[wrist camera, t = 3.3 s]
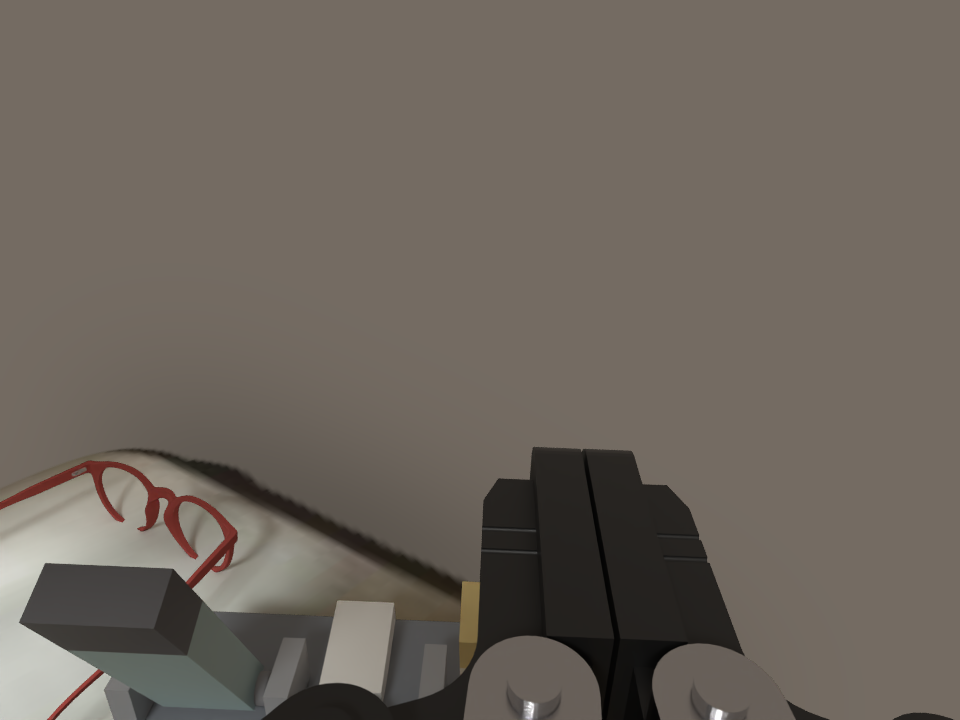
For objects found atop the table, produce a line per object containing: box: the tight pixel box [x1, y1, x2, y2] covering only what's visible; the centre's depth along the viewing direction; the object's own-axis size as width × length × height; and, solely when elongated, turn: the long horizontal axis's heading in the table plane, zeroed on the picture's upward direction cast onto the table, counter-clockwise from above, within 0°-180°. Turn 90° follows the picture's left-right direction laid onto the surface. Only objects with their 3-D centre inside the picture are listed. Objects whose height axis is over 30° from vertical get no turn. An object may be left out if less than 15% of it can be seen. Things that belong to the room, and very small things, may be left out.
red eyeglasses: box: [0, 461, 238, 720], centre depth 40 cm, size 17×16×5 cm
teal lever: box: [19, 563, 272, 711], centre depth 26 cm, size 5×2×13 cm, turn 88°
